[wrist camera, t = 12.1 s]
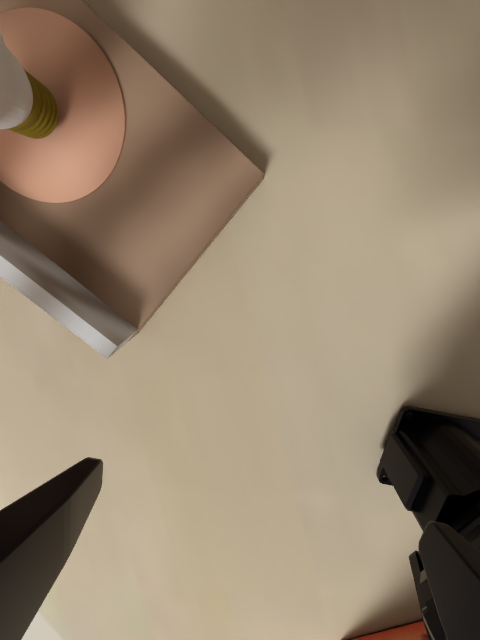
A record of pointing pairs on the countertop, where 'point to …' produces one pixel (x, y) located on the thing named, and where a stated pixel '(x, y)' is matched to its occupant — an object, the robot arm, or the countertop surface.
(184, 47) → the countertop surface
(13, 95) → the light bulb
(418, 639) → the cracker box
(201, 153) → the board
